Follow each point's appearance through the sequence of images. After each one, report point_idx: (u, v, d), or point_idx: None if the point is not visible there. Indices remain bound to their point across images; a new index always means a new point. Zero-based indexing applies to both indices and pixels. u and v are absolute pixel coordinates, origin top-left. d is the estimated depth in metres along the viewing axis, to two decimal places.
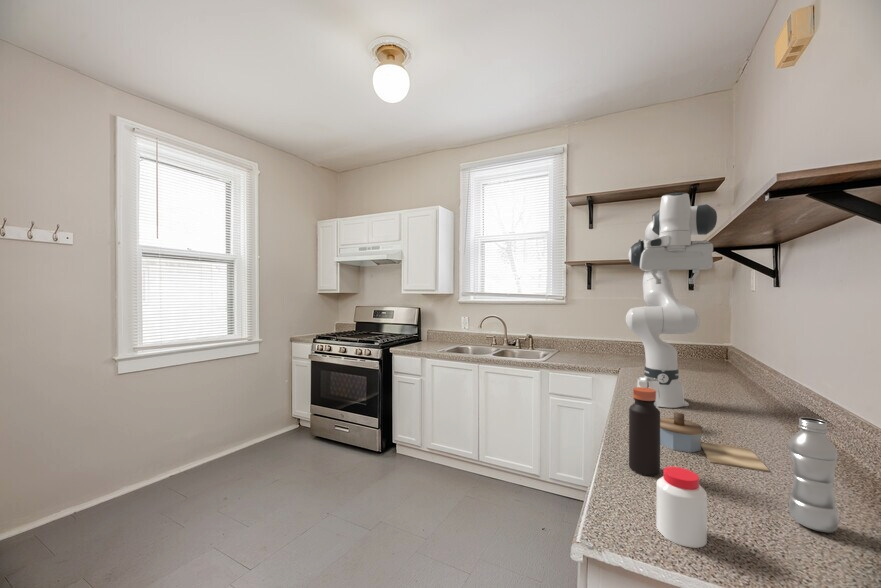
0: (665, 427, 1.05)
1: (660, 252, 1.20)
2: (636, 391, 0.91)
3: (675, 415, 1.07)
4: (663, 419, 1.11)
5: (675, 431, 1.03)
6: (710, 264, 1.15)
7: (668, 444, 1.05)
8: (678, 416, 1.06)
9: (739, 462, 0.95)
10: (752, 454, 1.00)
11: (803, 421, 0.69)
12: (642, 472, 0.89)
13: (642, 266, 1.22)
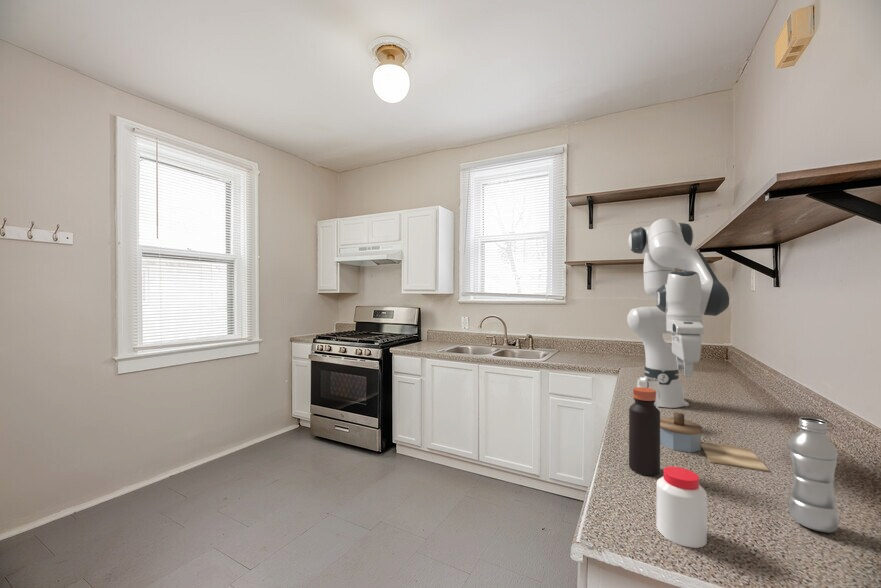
0: (665, 427, 1.05)
1: None
2: (636, 391, 0.91)
3: (675, 415, 1.07)
4: (663, 419, 1.11)
5: (675, 431, 1.03)
6: None
7: (668, 444, 1.05)
8: (678, 416, 1.06)
9: (739, 462, 0.95)
10: (752, 454, 1.00)
11: (803, 421, 0.69)
12: (642, 472, 0.89)
13: (699, 358, 0.97)
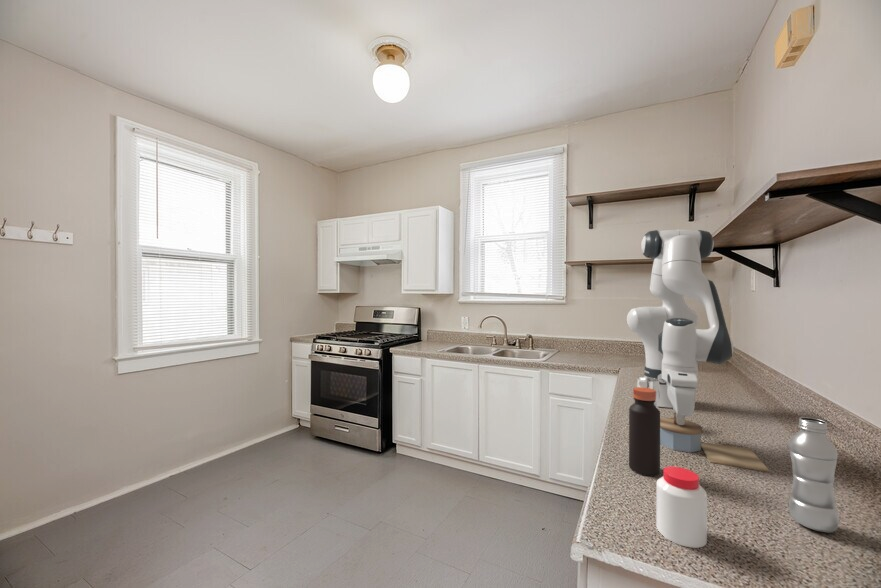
0: (665, 427, 1.05)
1: None
2: (636, 391, 0.91)
3: (675, 415, 1.07)
4: (663, 419, 1.11)
5: (675, 431, 1.03)
6: None
7: (668, 444, 1.05)
8: None
9: (739, 462, 0.95)
10: (752, 454, 1.00)
11: (803, 421, 0.69)
12: (642, 472, 0.89)
13: (693, 412, 0.98)
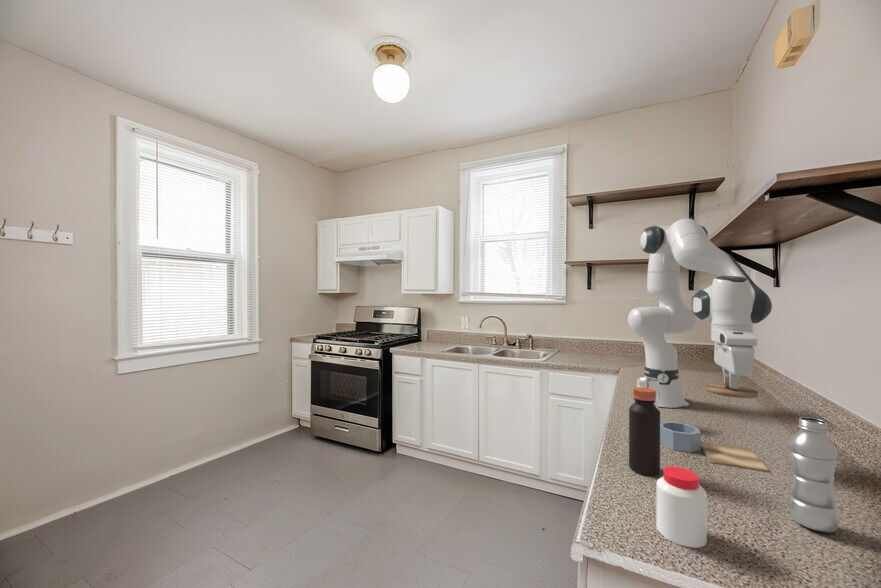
0: (717, 391, 0.98)
1: None
2: (636, 391, 0.91)
3: (727, 379, 0.99)
4: (712, 384, 1.04)
5: (729, 395, 0.95)
6: None
7: (668, 444, 1.05)
8: None
9: (739, 462, 0.95)
10: (752, 454, 1.00)
11: (803, 421, 0.69)
12: (642, 472, 0.89)
13: None
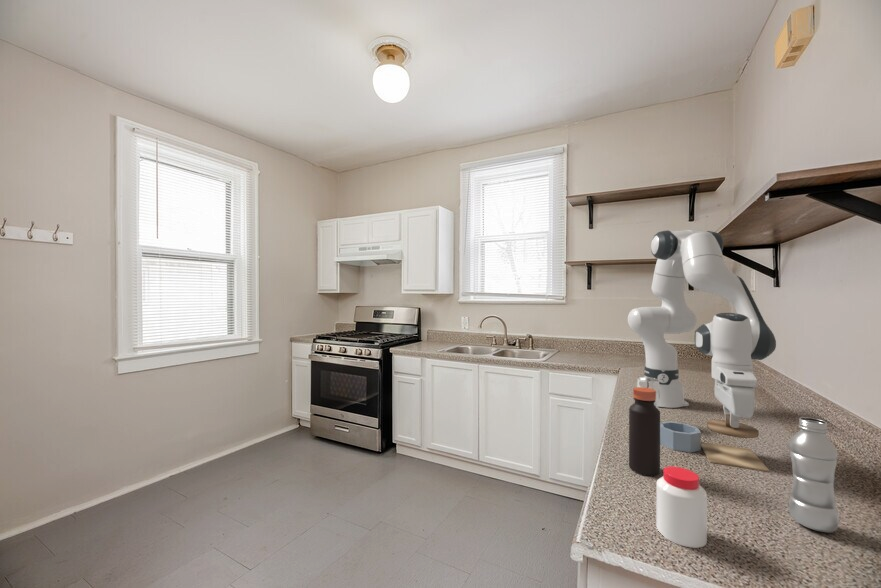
0: (718, 430, 0.98)
1: None
2: (636, 391, 0.91)
3: (728, 417, 0.99)
4: (712, 421, 1.04)
5: (730, 434, 0.95)
6: None
7: (668, 444, 1.05)
8: None
9: (739, 462, 0.95)
10: (752, 454, 1.00)
11: (803, 421, 0.69)
12: (642, 472, 0.89)
13: (752, 414, 0.90)
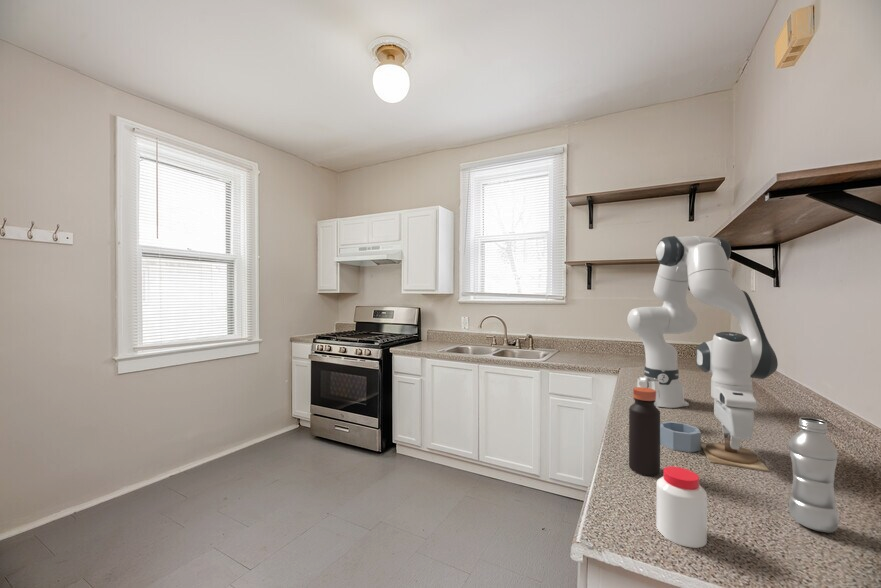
0: (717, 455, 0.98)
1: None
2: (636, 391, 0.91)
3: (727, 441, 0.99)
4: (711, 444, 1.04)
5: (729, 460, 0.96)
6: None
7: (668, 444, 1.05)
8: None
9: None
10: None
11: (803, 421, 0.69)
12: (642, 472, 0.89)
13: (751, 435, 0.90)
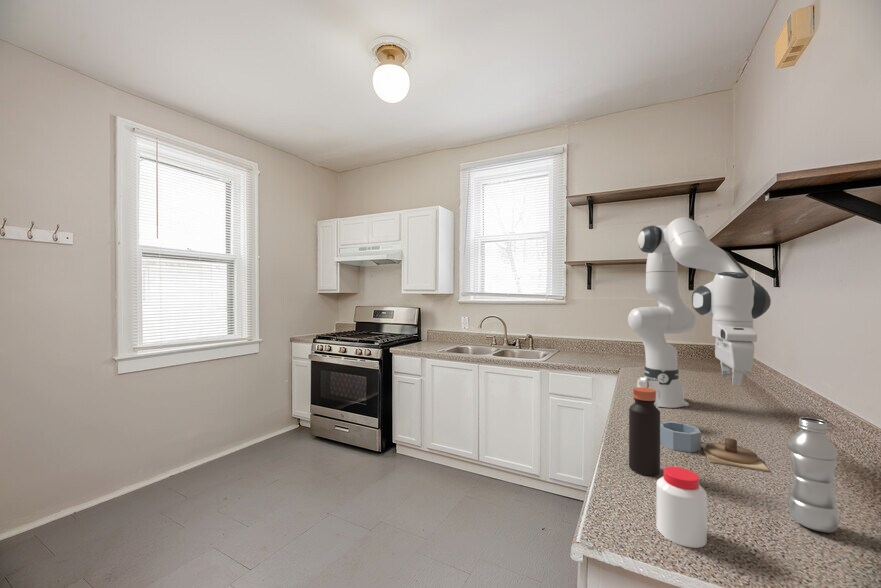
0: (717, 455, 0.98)
1: None
2: (636, 391, 0.91)
3: (727, 441, 0.99)
4: (711, 444, 1.04)
5: (729, 460, 0.96)
6: None
7: (668, 444, 1.05)
8: (730, 443, 0.99)
9: None
10: None
11: (803, 421, 0.69)
12: (642, 472, 0.89)
13: (751, 367, 0.92)
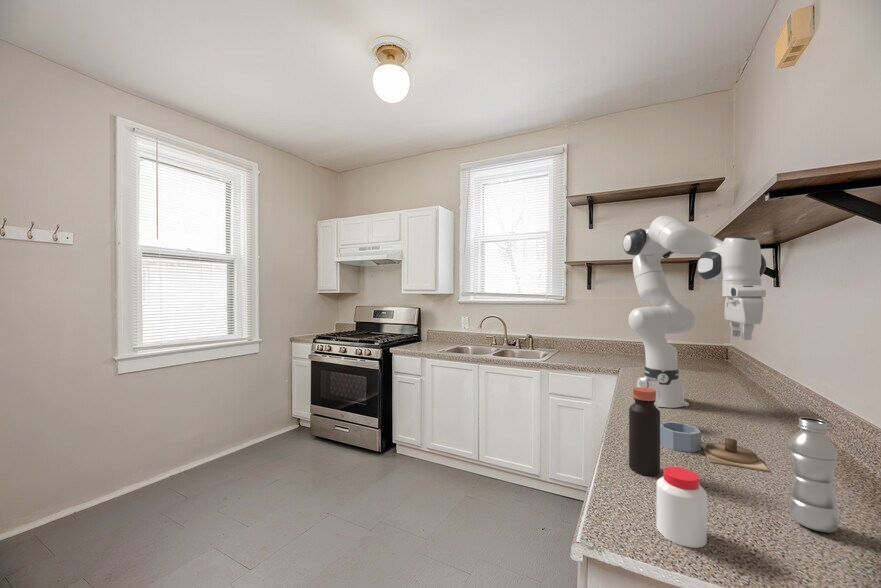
0: (717, 455, 0.98)
1: None
2: (636, 391, 0.91)
3: (727, 441, 0.99)
4: (711, 444, 1.04)
5: (729, 460, 0.96)
6: None
7: (668, 444, 1.05)
8: (730, 443, 0.99)
9: None
10: None
11: (803, 421, 0.69)
12: (642, 472, 0.89)
13: (761, 320, 0.98)
